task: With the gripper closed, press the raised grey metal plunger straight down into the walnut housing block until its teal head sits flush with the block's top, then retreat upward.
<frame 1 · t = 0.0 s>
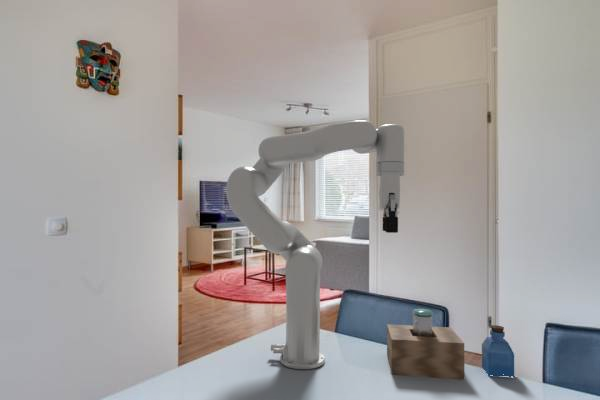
hand: (389, 231, 107), 37 cm above the table, tool pointing down, fingers open, 9 cm apart
plunger: (422, 327, 106), point 11 cm above the table, slide at 0.0 cm
perfume bottle: (497, 373, 102), on the table
housing: (422, 366, 106), on the table
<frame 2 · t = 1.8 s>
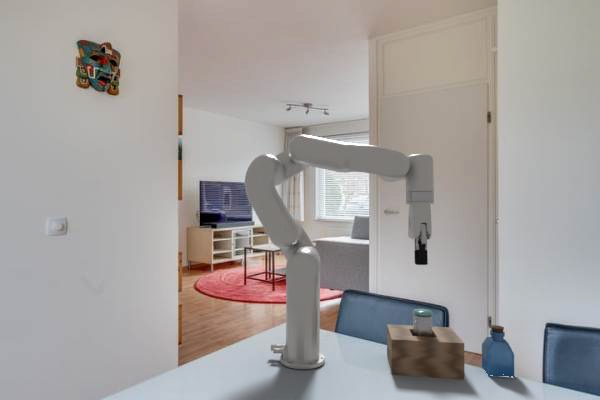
hand: (421, 264, 108), 28 cm above the table, tool pointing down, fingers closed
nothing on the table moved.
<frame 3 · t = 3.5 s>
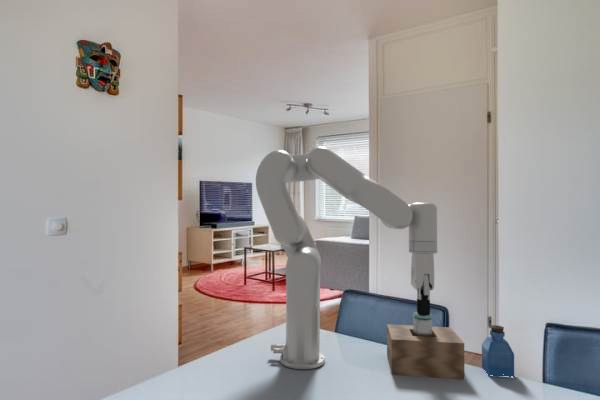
hand: (423, 313, 106), 14 cm above the table, tool pointing down, fingers closed
plunger: (422, 330, 106), point 10 cm above the table, slide at 0.8 cm, touching gripper
everything else where it was.
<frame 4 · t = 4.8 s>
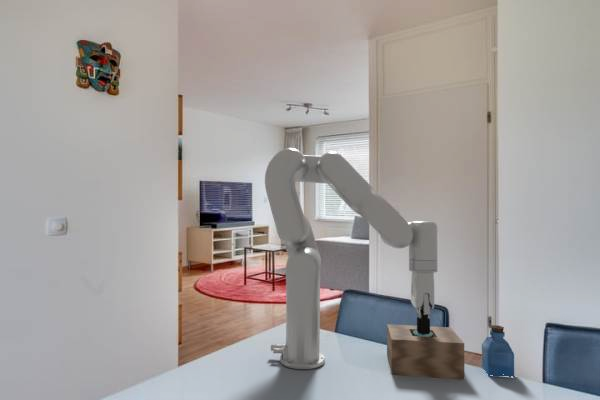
hand: (423, 332, 106), 9 cm above the table, tool pointing down, fingers closed
plunger: (422, 348, 106), point 5 cm above the table, slide at 5.9 cm, touching gripper
everything else where it was.
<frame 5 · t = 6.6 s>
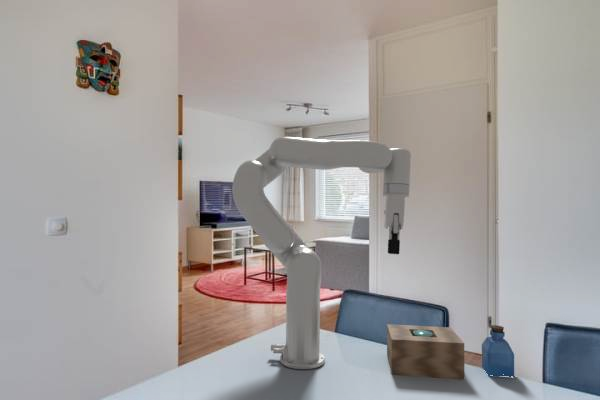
hand: (393, 253, 113), 30 cm above the table, tool pointing down, fingers closed
plunger: (422, 348, 106), point 5 cm above the table, slide at 5.9 cm
everything else where it was.
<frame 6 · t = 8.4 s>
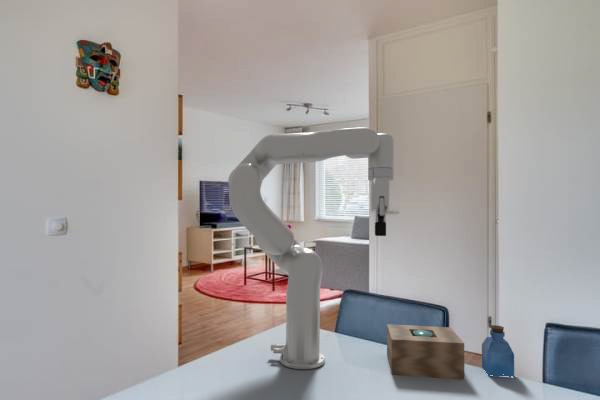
hand: (380, 235, 117), 35 cm above the table, tool pointing down, fingers closed
nothing on the table moved.
at the end: plunger slide at 5.9 cm; plunger touching nothing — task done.
